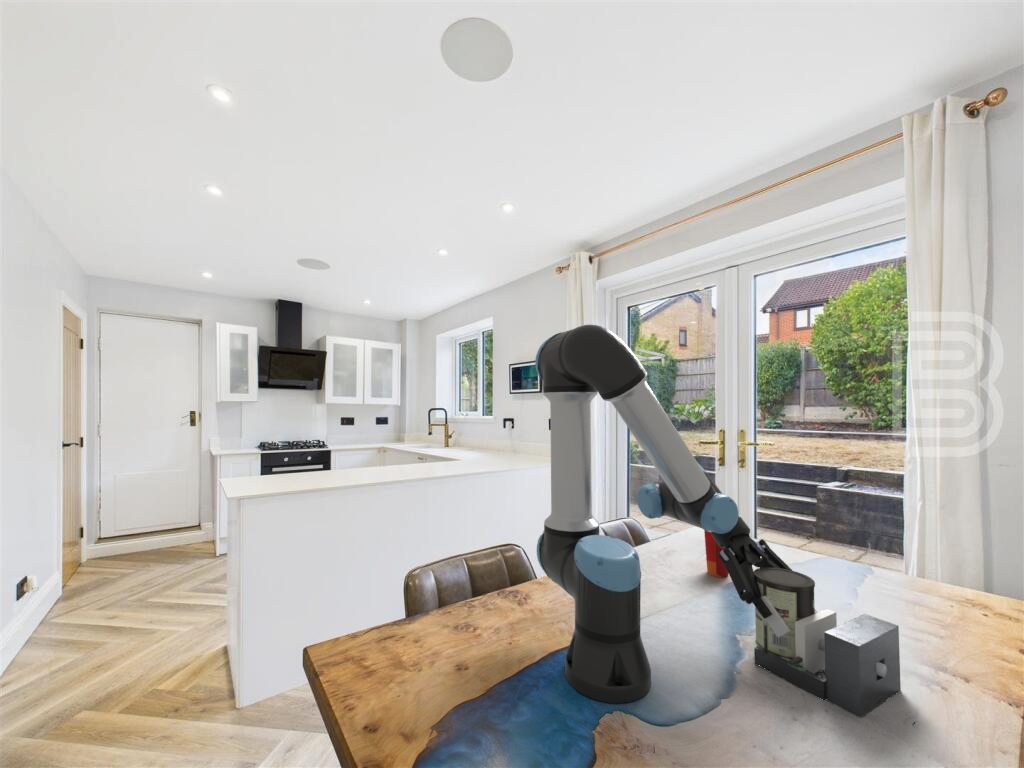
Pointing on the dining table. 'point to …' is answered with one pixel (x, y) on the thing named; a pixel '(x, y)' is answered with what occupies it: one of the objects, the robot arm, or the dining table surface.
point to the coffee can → (783, 607)
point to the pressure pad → (817, 642)
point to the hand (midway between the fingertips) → (800, 627)
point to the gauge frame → (848, 665)
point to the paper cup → (714, 557)
